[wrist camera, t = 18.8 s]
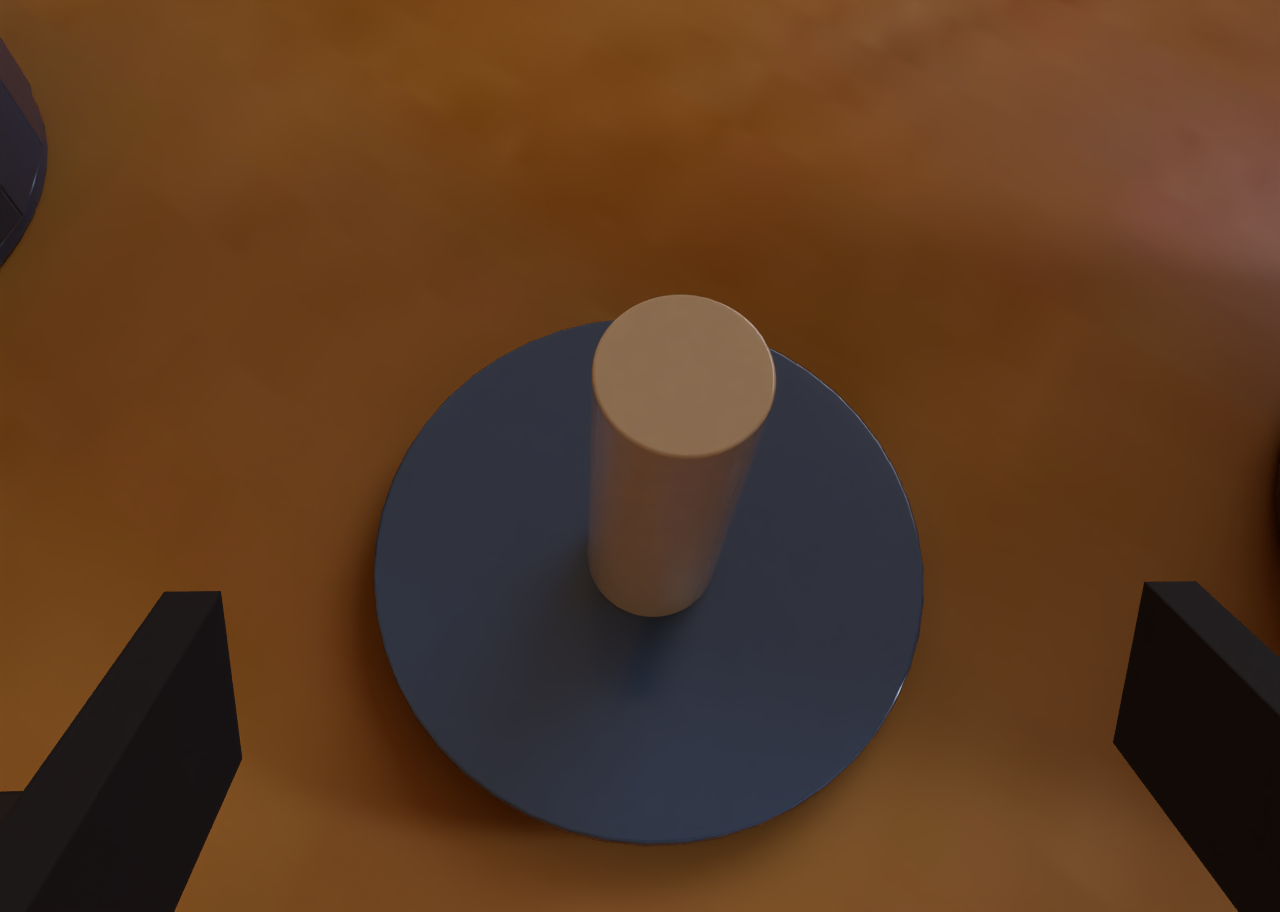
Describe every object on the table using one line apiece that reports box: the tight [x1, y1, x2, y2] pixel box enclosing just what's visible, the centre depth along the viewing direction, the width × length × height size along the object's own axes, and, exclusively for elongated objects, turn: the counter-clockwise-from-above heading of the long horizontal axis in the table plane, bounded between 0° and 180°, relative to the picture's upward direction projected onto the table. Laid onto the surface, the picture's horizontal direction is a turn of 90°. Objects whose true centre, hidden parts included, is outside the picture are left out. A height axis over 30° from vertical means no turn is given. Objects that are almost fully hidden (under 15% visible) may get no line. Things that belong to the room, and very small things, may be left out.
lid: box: [373, 295, 923, 846], centre depth 23 cm, size 13×13×10 cm
